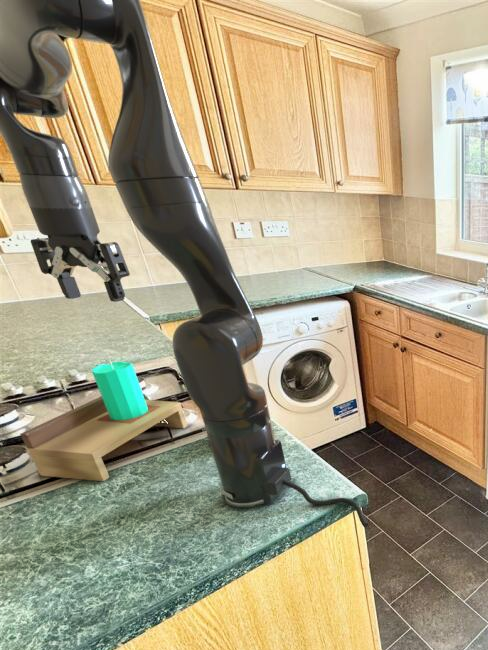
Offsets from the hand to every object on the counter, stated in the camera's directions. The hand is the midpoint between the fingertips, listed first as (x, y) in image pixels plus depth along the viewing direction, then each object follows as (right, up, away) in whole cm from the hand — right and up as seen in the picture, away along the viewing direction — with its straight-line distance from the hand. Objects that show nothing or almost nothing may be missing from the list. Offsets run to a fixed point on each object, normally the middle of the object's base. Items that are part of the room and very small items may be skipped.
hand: (95, 299), depth 78 cm
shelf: (-2, -29, +8) cm, 30 cm away
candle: (-2, -22, +9) cm, 24 cm away
